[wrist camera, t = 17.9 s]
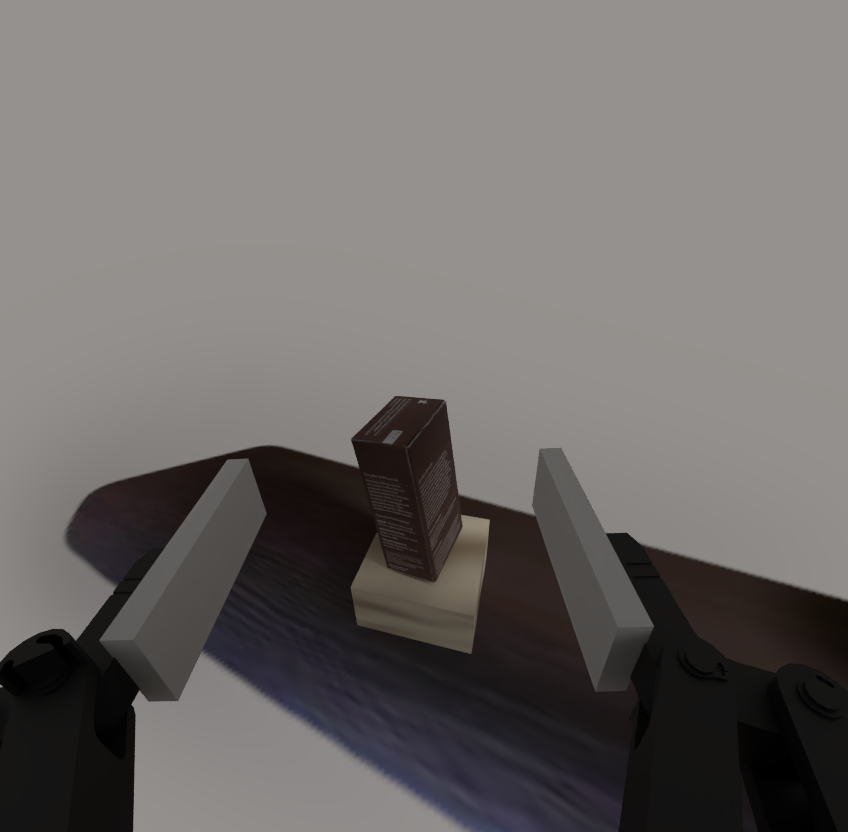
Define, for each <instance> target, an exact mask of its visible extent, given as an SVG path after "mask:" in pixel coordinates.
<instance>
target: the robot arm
mask: <svg viewBox="0 0 848 832" xmlns="http://www.w3.org/2000/svg"><path fill="white" fill-rule="evenodd" d="M532 506H533V509H534V512H535V515H536V518H537V521H538V524H539V527H540V530H541V533H542V536H543V539H544V542H545V545H546V548H547V551H548V553H549V556H550V559H551V562H552V565H553V568H554V571H555V574H556V577H557V580H558V583H559V586H560V589H561V592H562V595H563V598H564V601H565V604H566V607H567V610H568V613H569V616H570V618H571V621H572V624H573V627H574V630H575V633H576V636H577V639H578V642H579V645H580V648H581V651H582V654H583V657H584V660H585V663H586V666H587V669H588V672H589V675H590V678H591V681H592V684H593V686H594V689H595V692H596V691H626V689H627V687H628V685H629V683H630V680H632V682H633V684H634V687H635V689H636V691H637V694H638V696H639V698H638V700H637V702H636V704H635V706H634V709H633V711H632V713H631V715H630V718H629V719H630V720H631V721H633V722H634V723H633V731H632V738H631V746H630V753H629V760H628V768H627V775H626V782H625V790H624V797H623V805H622V812H621V819H620V827H619V832H743V826H742V807H741V788H740V769H741V773H742V776H743V780H744V783H745V787H746V790H747V794H748V797H749V801H750V804H751V808H752V811H753V815H754V818H755V822H756V826H757V829H758V832H848V692H847V691H846V690H845V689H844V688H843V687H841V686H840V685H839V684H838V683H837V682H836V681H835V680H833V679H831V678H830V677H828V676H827V675H825V674H824V673H822V672H820V671H819V670H816V669H813V668H811V667H808V666H805V665H801V664H787V665H785V666H783V667H781V668H780V669H779V670H778V671H777V673H773V672H769V671H766V670H762V669H759V668H755V667H752V666H748V665H744V664H741V663H738V662H735V661H732V660H730V659H727V658H725V657H724V656H723V655H722V654H721V653H720V652H719V651H718V650H717V649H716V648H715V647H714V646H713V645H711V644H710V643H708V642H706V641H704V640H703V639H701V638H699V637H698V636H697V635H696V633H695V632H694V631H693V629H692V628H691V626H690V624H689V623H688V621H687V619H686V618H685V616H684V614H683V613H682V611H681V609H680V608H679V606H678V605H677V603H676V601H675V600H674V598H673V596H672V595H671V593H670V591H669V590H668V588H667V586H666V585H665V583H664V581H663V580H662V579H661V578H660V575H659V573H658V571H657V570H656V568H655V566H653V565H652V561H651V560H650V558H649V556H648V555H647V553H646V552H645V550H644V548H643V547H642V546H641V545H640V544H639V543H638V542H637V541H636V540H635V539H633V538H632V537H631V536H630V535H629V534H628V533H605V531H604V529H603V528H602V526H601V524H600V522H599V520H598V518H597V516H596V514H595V512H594V510H593V508H592V506H591V504H590V503H589V501H588V499H587V497H586V495H585V493H584V491H583V489H582V487H581V485H580V483H579V481H578V480H577V478H576V476H575V474H574V472H573V470H572V468H571V466H570V464H569V462H568V461H567V459H566V456H565V455H564V453H563V451H562V449H561V448H547V449H540V451H539V459H538V466H537V474H536V481H535V489H534V496H533V504H532ZM266 514H267V513H266V510H265V507H264V504H263V501H262V498H261V495H260V492H259V490H258V487H257V484H256V481H255V478H254V475H253V472H252V469H251V466H250V463H249V460H248V459H230V460H227V461H226V463H225V464H224V465H223V467H222V468H221V470H220V471H219V472H218V474H217V475H216V477H215V478H214V479H213V481H212V482H211V484H210V485H209V486H208V488H207V489H206V491H205V492H204V494H203V495H202V496H201V498H200V499H199V501H198V502H197V503H196V505H195V506H194V508H193V509H192V510H191V512H190V513H189V515H188V516H187V517H186V519H185V520H184V522H183V523H182V525H181V526H180V527H179V529H178V530H177V532H176V533H175V534H174V536H173V537H172V539H171V540H170V541H169V543H168V544H167V546H166V547H165V548H153V549H151V550H150V551H149V552H148V553H147V554H145V555H144V556H143V557H142V558H141V559H139V560H138V561H137V562H136V563H135V564H134V565H133V567H132V568H131V569H130V571H129V572H128V573H127V575H126V576H125V577H124V580H123V582H121V583H120V584H119V585H118V586H117V588H116V589H115V590H114V592H113V595H111V596H110V597H109V598H108V600H107V601H106V602H105V604H104V605H103V606H102V608H101V609H100V610H99V612H98V613H97V614H96V616H95V617H94V618H93V619H92V621H91V622H90V624H89V625H88V626H87V627H86V629H85V630H84V631H83V633H82V634H81V635H80V637H79V638H78V639H77V640H76V641H75V640H74V638H73V637H72V636H71V635H70V634H69V633H68V632H66V631H65V630H63V629H51V630H48V631H44V632H41V633H38V634H36V635H34V636H32V637H31V638H29V639H27V640H25V641H23V642H22V643H21V644H19V645H18V646H17V647H16V648H14V649H13V650H12V651H10V652H9V653H8V654H7V655H6V657H5V658H4V659H3V660H2V661H1V662H0V685H2V686H3V687H1V688H0V832H133V809H134V807H133V806H134V761H135V711H134V707H133V706H132V705H131V704H132V702H133V701H134V699H135V697H136V695H137V693H138V692H139V690H140V691H141V693H142V694H143V695H144V696H145V698H146V699H147V700H148V701H178V700H179V698H180V695H181V693H182V691H183V689H184V687H185V685H186V683H187V681H188V679H189V677H190V674H191V672H192V670H193V668H194V666H195V663H196V662H197V660H198V658H199V655H200V653H201V651H202V649H203V647H204V645H205V643H206V641H207V639H208V637H209V634H210V632H211V630H212V628H213V626H214V624H215V622H216V620H217V618H218V615H219V613H220V611H221V609H222V607H223V605H224V603H225V601H226V599H227V596H228V594H229V592H230V590H231V588H232V586H233V584H234V582H235V580H236V578H237V575H238V573H239V571H240V569H241V567H242V565H243V563H244V561H245V559H246V556H247V554H248V552H249V550H250V548H251V546H252V544H253V542H254V540H255V537H256V535H257V533H258V531H259V529H260V527H261V525H262V523H263V521H264V519H265V516H266ZM739 766H740V768H739Z"/></svg>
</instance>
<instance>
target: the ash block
mask: <svg viewBox="0 0 848 832" xmlns="http://www.w3.org/2000/svg"><path fill="white" fill-rule="evenodd" d="M461 518H462V525H463V527H462V529H461V531H460V533H459V536H458V538H457V540H456V542H455V544H454V546H453V548H452V550H451V552H450V554H449V556H448V558H447V560H446V562H445V564H444V567H443V569H442V571H441V573H440V575H439V577H438V579H437V581H436V582H435V583H433V582H430V581H426V580H423V579H419V578H416V577H412V576H410V575H407V574H404V573H401V572H397V571H395V570H392V569H389V568H387V564H386V561H385V557H384V554H383V550H382V547H381V543H380V540H379V536H378V533H376V535H375V537H374V539H373V541H372V543H371V546H370V548H369V550H368V552H367V554H366V556H365V558H364V560H363V562H362V564H361V567H360V569H359V571H358V573H357V575H356V577H355V579H354V581H353V583H352V585H351V592H352V598H353V603H354V609H355V614H356V620H357V625H359V626H363V627H367V628H371V629H375V630H379V631H382V632H386V633H390V634H394V635H398V636H402V637H406V638H410V639H414V640H418V641H422V642H426V643H430V644H434V645H438V646H442V647H445V648H449V649H453V650H457V651H461V652H465V653H469V654H471V653H472V646H473V640H474V633H475V627H476V620H477V614H478V607H479V601H480V595H481V588H482V582H483V575H484V569H485V562H486V555H487V544H488V533H489V522H490V520H487V519H481V518H475V517H470V516H464V515H461Z"/></svg>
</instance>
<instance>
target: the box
mask: <svg viewBox="0 0 848 832" xmlns="http://www.w3.org/2000/svg"><path fill="white" fill-rule="evenodd" d="M351 441H352V444H353V447H354V450H355V454H356V457H357V461H358V464H359V468H360V472H361V475H362V478H363V483H364V486H365V490H366V493H367V496H368V500H369V504H370V507H371V511H372V514H373V518H374V521H375V526H376V529H377V533H378V536H379V540H380V543H381V547H382V550H383V554H384V557H385V561H386V564H387V568H389V569H392V570H395V571H397V572H401V573H404V574H407V575H410V576H412V577H416V578H419V579H423V580H426V581H430V582H433V583H435V582H436V581H437V579H438V577H439V575H440V573H441V571H442V569H443V567H444V564H445V562H446V560H447V558H448V556H449V554H450V552H451V550H452V548H453V546H454V544H455V542H456V540H457V538H458V536H459V533H460V531H461V529H462V527H463V525H462V518H461V511H460V503H459V496H458V489H457V482H456V474H455V466H454V460H453V451H452V444H451V436H450V429H449V421H448V414H447V407H446V401H444V400H439V399H426V398H415V397H402V396H395V397H394V398H393V399H392V400H391V401H390V402H389V403H388V404H387V405H386V406H385V407H384V408H383V409H382V410H381V411H380V412H379V413H378V414H377V415H376V416H375V417H373V418H372V419H371V420H370V421H369V422H368V423H367V424H366V425H365V426H364V427H363V428H362V429H361V430H360V431H359V432H358V433H357V434H356V435H355V436H354V437H353V438H352V439H351Z"/></svg>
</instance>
